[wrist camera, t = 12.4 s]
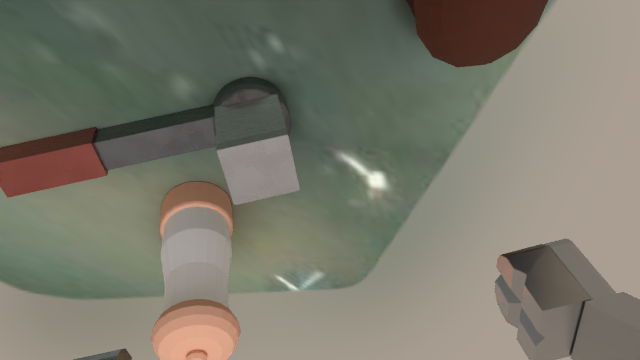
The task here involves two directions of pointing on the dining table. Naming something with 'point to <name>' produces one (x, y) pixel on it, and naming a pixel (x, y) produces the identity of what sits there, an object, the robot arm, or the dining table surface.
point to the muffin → (474, 27)
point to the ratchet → (121, 143)
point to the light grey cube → (255, 149)
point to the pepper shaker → (196, 275)
